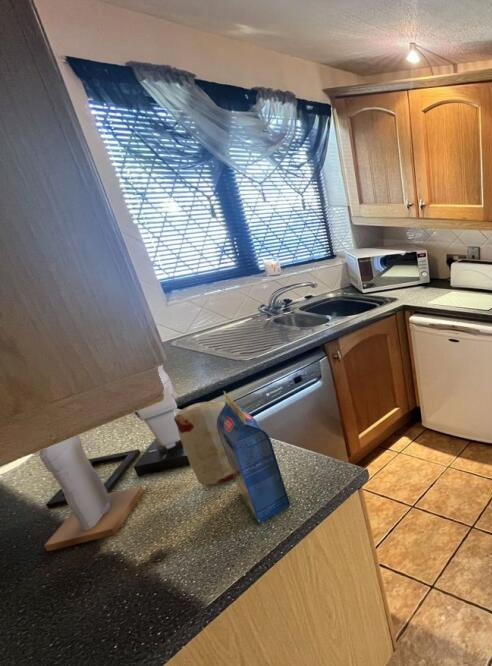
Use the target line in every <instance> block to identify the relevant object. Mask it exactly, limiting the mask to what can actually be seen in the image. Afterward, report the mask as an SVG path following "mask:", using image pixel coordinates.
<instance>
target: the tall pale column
mask: <svg viewBox="0 0 492 666" xmlns="http://www.w3.org/2000/svg"><path fill="white" fill-rule="evenodd" d="M39 458H40V459H41V461H42V463H43V465H44V467H45V468H46V471H48V472H50V473H51V474H52V476H53V477H54V479H55V480H56V482H57V483H58V485H59V487H60V489H62V491H63V493H64V495H65V498H66V501H67V503H68V504H67V505H68V507H69V508H70V510H71V513H72V512H73V514H74V515H75V517H76V519H77V521H78V522H79V524H80V526H81V528H82V529H83V530H84V531H87V530H89V529H91V528H92V527H93V526H95V524H96V523H97V522H98V521H99V519H100V518H101V517H102V515H104V514H105V513H106V512H108V511H109V509H110V507H111V506H110V504H109V501H110V496H109V494H108V492H107V490H106V488H105V486H104V484H105V483H104V482H103V481H102V479H101V477H100V475H99V473H98V471H97V470H96V469H95V468H94V467H92V465H91V463H90V461H89V460H88V459H89V458H88V455H87V454H86V452H85V450H84V447H83V444H82V440H81V437H80V435H79V434H78V436H76V437H74V438H71V439H69V440H66V441H64V442H61V443H58V444H56V445H53V446H51V447H48V448H46V449H43V450H41V451H40V450H39Z"/></svg>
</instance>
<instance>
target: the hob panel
mask: <svg viewBox="0 0 492 666" xmlns="http://www.w3.org/2000/svg"><path fill="white" fill-rule="evenodd" d="M189 466H190V467H191V465H190V463H189V460H188V457H187V454H186V452H185V450H184V448H183V446H182V445H180V446H177V447H175V448H173V449H170V450H168V451H165V452H163V453H159V451H158V449H157V446H156V444H155V442H154V440H152V441H151V443H150V444H149V445H148V447H147V448H146V450H145V451H144V452H143V453H142V455H141V456H140V457H139V459H138V460H137V461H136V462H135V464H134V465H133V470H134V472H135V474H136V476H137V477H138V478H140V477H144V476H148V475H154V474H158V473H162V472H165V471H172V470H175V469H180V468H186V467H189Z"/></svg>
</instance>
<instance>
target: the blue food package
mask: <svg viewBox="0 0 492 666" xmlns="http://www.w3.org/2000/svg"><path fill="white" fill-rule="evenodd" d="M222 392H223V394H224V398H225V400H226V402H225V406H224V407H223V409H222V411H221V412H220V414H219V416H218V418H217V430H218V433H219V436H220V439H221V441H222V444H223V447H224V450H225V453H226V455H227V458H228V461H229V464H230V467H231V469H232V472H233V475H234V480H235V483H236V487H237V489H238V491H239V494H240V495H241V497H242V500H243V501H244V503H245V504H246V506H247V507H248V509H249V511H250V512H251V514H252V515H253V517H254V518H255V519H256V520H257V522H258V523H261V522H263V521H265V520H266V519H268V518H270V517H272V516H274V515H275V514H277V513H279V512H281V511H282V510H284V509H286V508H287V507H289V506H290V505H291V503H290V500H289V497H288V494H287V490H286V486H285V482H284V480H283V476H282V473H281V469H280V466H279V463H278V460H277V456H276V453H275V449H274V446H273V443H272V440H271V438H270V436H269V434H268V433H267V432H266V431H265V430H264V429H263V428H262V426H261V425H260V423H259V422H258V421H257V420H256V419H255V418H254V417H253V416H252V415H251V414H250V413H249V412H248V411H247V410H246V409H245V408H244V407H242V406H240V405H237V404H236V403H235V401H233V399H231V397H230V396H229V395H228V394H227V393H226V391H224V390H223V391H222Z"/></svg>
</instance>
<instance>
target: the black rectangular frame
mask: <svg viewBox="0 0 492 666" xmlns="http://www.w3.org/2000/svg"><path fill="white" fill-rule="evenodd" d="M141 453H142V451H140V449H139V448H138V449H132V450H128V451H122V452H117V453H113V454H108V455H102V456H97V457H93V458H92V457H91V458H88V460H89V461H90V463H91V465H92V467H93V468H94V467H95V466H99V465H103V464H110V463H114V462H120V461H121V462H120V464H119V465H118V467H116V469H115V470H114V471H113V472H112V474H111V475H109V477H108V479H107V480H106V481H105V482H104V483H103V484H104V486H105V488H106V490H107V492H108V493H112V490H113V489H114V488H115V486H116V485H117V484H118V483H119V482H120V480H121V479H122V478H123V477H124V475H125V474H126V472H127V471H128V470H129V469H130V467H131V466H132V465H133V463H134V462H135V461H136V460H137V458H138V457H139V456H140V454H141ZM66 505H68V503H67V501H66V498H65V495H64V493H63V491H62V489H61V488H60V489H59V490H58V491H57V492H56V493H55V494H54V495H53V496H52V497H51V498H50V499H49V500H48V501H47V502H46V503H45V506H46V507H47V509H53V508H56V507H61V506H66Z"/></svg>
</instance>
